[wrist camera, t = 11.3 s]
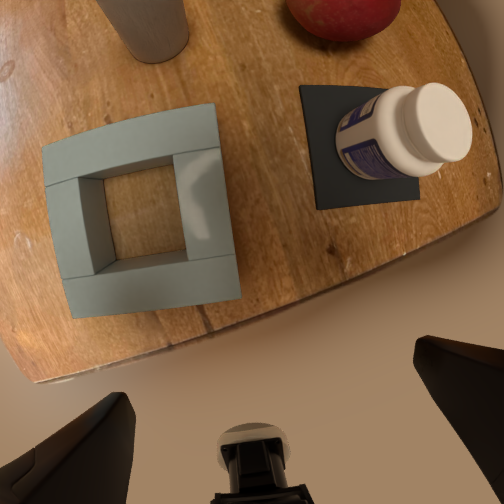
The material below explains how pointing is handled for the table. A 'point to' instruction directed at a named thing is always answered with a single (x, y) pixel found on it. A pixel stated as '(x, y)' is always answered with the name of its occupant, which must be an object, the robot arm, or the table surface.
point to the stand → (97, 223)
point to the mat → (328, 160)
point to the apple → (344, 17)
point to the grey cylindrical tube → (149, 27)
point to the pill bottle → (404, 133)
